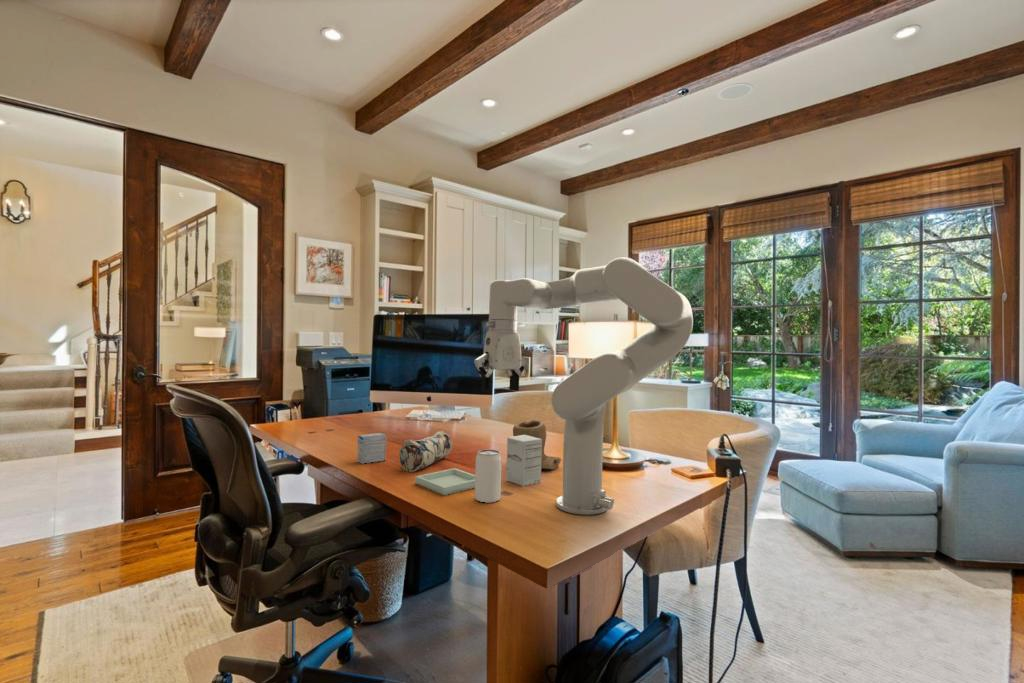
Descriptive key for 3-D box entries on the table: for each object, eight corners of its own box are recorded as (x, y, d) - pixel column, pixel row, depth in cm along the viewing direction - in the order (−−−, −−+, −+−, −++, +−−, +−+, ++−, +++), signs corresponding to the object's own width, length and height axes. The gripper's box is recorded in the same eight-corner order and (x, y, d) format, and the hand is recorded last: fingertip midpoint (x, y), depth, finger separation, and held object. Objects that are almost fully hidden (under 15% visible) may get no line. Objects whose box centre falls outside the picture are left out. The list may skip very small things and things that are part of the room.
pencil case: (421, 474, 145) (422, 441, 145) (396, 471, 148) (397, 439, 148) (453, 458, 165) (454, 429, 165) (431, 455, 168) (432, 427, 168)
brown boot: (506, 471, 150) (507, 422, 150) (515, 462, 161) (516, 416, 161) (555, 475, 146) (556, 425, 146) (561, 465, 158) (562, 419, 158)
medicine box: (379, 458, 163) (380, 432, 163) (385, 461, 159) (386, 434, 159) (357, 461, 157) (357, 435, 157) (362, 464, 154) (363, 437, 154)
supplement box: (505, 480, 139) (506, 436, 139) (524, 476, 144) (525, 434, 144) (522, 487, 134) (523, 441, 134) (541, 482, 139) (542, 438, 139)
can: (501, 495, 126) (502, 449, 126) (498, 504, 119) (499, 455, 119) (477, 494, 126) (478, 448, 126) (472, 502, 120) (473, 454, 120)
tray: (484, 485, 134) (484, 478, 134) (444, 495, 125) (444, 487, 125) (454, 475, 144) (454, 468, 144) (415, 483, 135) (415, 476, 135)
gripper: (485, 325, 121) (483, 394, 121) (535, 328, 132) (533, 391, 132) (468, 325, 126) (465, 391, 126) (517, 328, 138) (515, 388, 138)
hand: (500, 391), depth 129 cm, fingers open, 9 cm apart
